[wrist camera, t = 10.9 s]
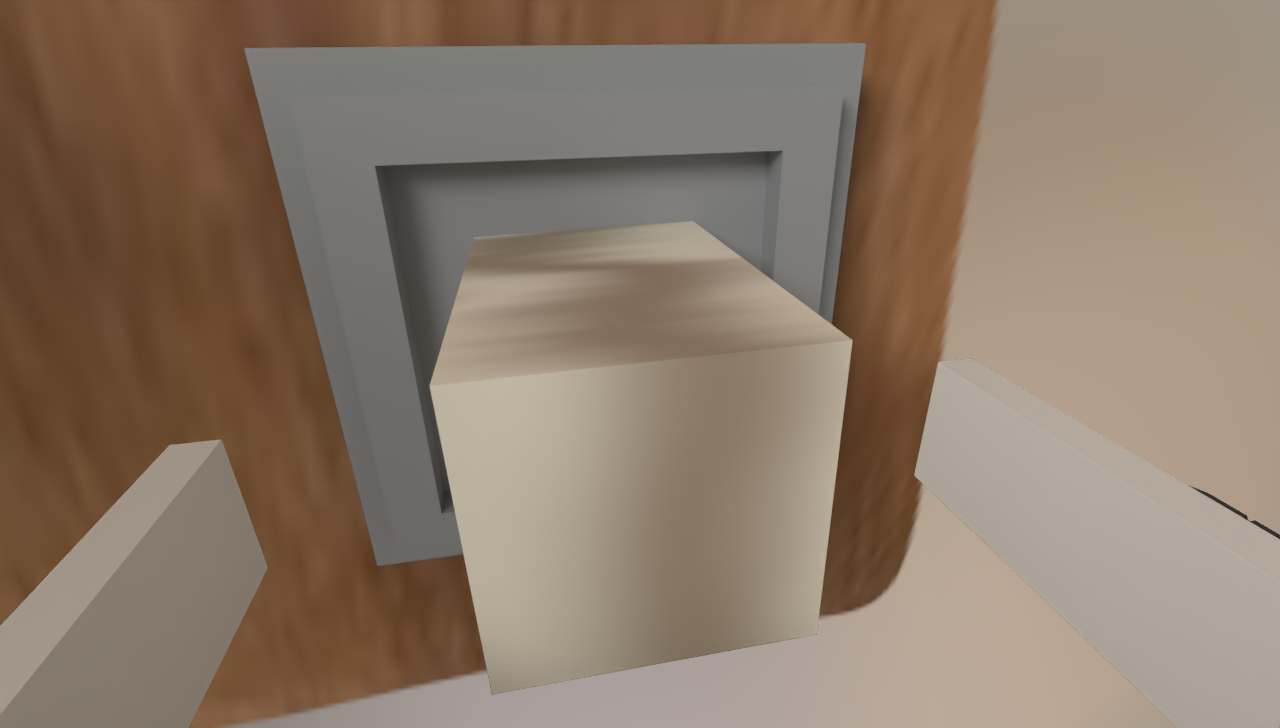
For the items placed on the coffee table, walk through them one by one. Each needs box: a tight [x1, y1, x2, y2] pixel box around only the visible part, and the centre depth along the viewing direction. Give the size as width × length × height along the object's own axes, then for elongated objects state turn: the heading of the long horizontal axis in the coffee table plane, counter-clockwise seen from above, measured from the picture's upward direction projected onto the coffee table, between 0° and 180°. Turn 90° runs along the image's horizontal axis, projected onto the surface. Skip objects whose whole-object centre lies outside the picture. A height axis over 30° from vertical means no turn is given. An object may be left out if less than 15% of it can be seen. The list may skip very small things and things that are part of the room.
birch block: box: [430, 221, 853, 695], centre depth 14 cm, size 6×6×9 cm
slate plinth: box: [244, 43, 866, 566], centre depth 18 cm, size 15×15×3 cm
